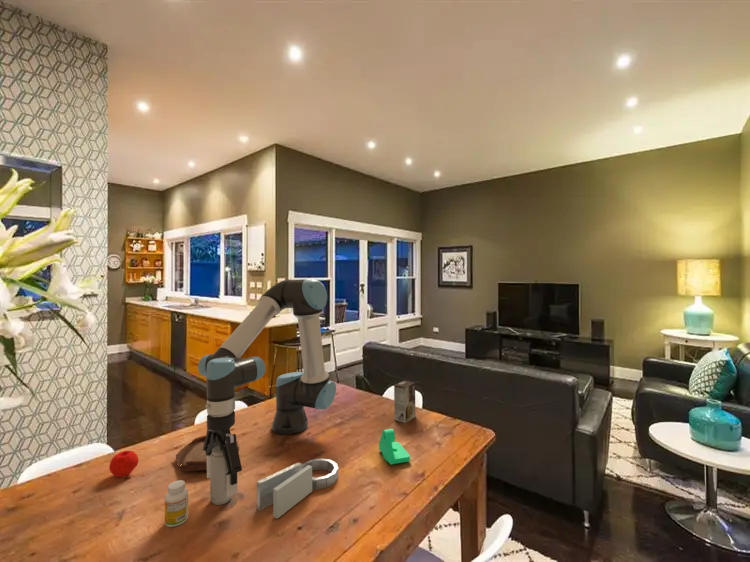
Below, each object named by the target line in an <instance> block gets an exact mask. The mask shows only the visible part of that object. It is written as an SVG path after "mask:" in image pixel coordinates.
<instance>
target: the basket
mask: <svg viewBox="0 0 750 562" xmlns="http://www.w3.org/2000/svg"><path fill="white" fill-rule="evenodd" d="M205 438H206V435H202V436H198V437H196V438H193V440H192V441H191V442H189V443H187V444H186V445H185V446H184V447H182V448H181V449H180V450H178V452H177V453H176V455H175V459H176V460H175V463H176V467H177V468H178V469H179V470H180V471H181V472H192V471H207V455H206V451H204V450H203V447H204V442H205ZM236 443H237V447H238V452H239V451H240V445H239V442H237V440H236ZM218 446H219V445H218ZM181 464H182V465H181ZM180 465H181V466H180Z"/></svg>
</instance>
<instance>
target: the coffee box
mask: <svg viewBox="0 0 750 562" xmlns="http://www.w3.org/2000/svg"><path fill="white" fill-rule="evenodd" d="M393 389H394V390H393V392H394V393H393V394H394V395H393V397H394V398H393V400H394V402H393V405H394V409H393V411H394V412H393V413H394V416H393V417H394V421H397V422H400V423H404V424H406V423H408V422H409V421H411V420H412V419H414V418H415V417H416V415H417V414H416V382H412V381H409V380H402V381H400V382H398V383H396V384H394V385H393Z"/></svg>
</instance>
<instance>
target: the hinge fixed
mask: <svg viewBox="0 0 750 562" xmlns="http://www.w3.org/2000/svg"><path fill="white" fill-rule="evenodd" d="M308 465H310V466H312V471H317V470H324V471H325V470H326V471H329V473H328V474H326V475H324V476H319V477H314V476H312V490H322V489H327V488H329V487H331V486H332V485H335V483H336V482H337V480H338V479H339V467H338V463H336V462H335V461H334V460H332V459H329V458H314V459H309V460H308V461H305V462H304V463H301V462H296V463H293V464H292V465H289V466H288V467H285V468H283V469H280V470H278V471H277V472H274V473H272V474H270V475H268V476H265V477H264V478H261V479H259V480H257V481H256V509H257V510H258V511H262V510H264V509H265V508H267V507H269V506H271V505H273V489H274V488H275V487H277V486H278V485H280V484H281V483H283V482H284V481H286V480H287V479H289V478H290V477H291V476H293V475H294V474H296V473H297V472H299V471H300V470H302V469H303V468H305V467H306V466H308Z"/></svg>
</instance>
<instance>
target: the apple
mask: <svg viewBox="0 0 750 562" xmlns="http://www.w3.org/2000/svg"><path fill="white" fill-rule="evenodd" d="M139 460H140V459H139V457H138V454H137V453H136V452H135V451H132V450H123V451H120V452H118V453H116V454H115V455H114V456H113V457H112V459H111V460H110V462H109V466H108V467H109V471H110V473H111V474H112V475H113V476H115V477H117V478H124V476H125V477H127V476H128V475H130V474H131V473H132V472H133V471H134V470H135V468H136V467H137V466H138V464H139Z"/></svg>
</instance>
